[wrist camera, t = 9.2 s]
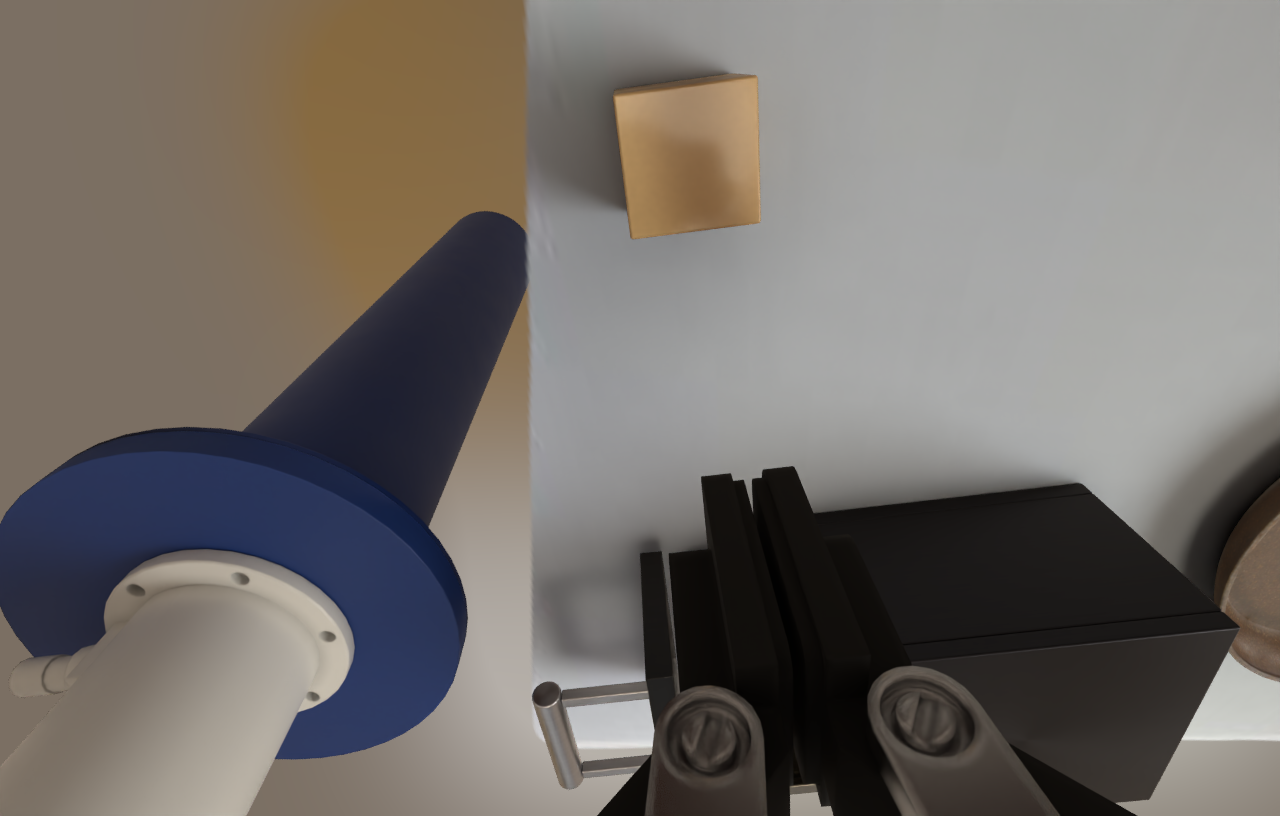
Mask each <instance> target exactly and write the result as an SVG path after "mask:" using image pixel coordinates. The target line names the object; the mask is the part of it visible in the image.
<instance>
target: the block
mask: <svg viewBox="0 0 1280 816" xmlns="http://www.w3.org/2000/svg"><path fill="white" fill-rule="evenodd" d="M613 103H614V111H615V119H616V127H617V134H618V142H619V150H620V158H621V166H622V174H623V182H624V190H625V198H626V206H627V214H628V222H629V229H630V237H631V239H640V238H648V237H656V236H663V235H671V234H679V233H687V232H695V231H702V230H710V229H718V228H726V227H733V226H741V225H749V224H757V223H760V221H761V210H760V163H759V115H758V78H757V76H756V75H747V74H724V75H717V76H710V77H702V78H695V79H688V80H680V81H673V82H666V83H658V84H651V85H644V86H636V87H629V88H622V89H616V90H614V94H613Z"/></svg>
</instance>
